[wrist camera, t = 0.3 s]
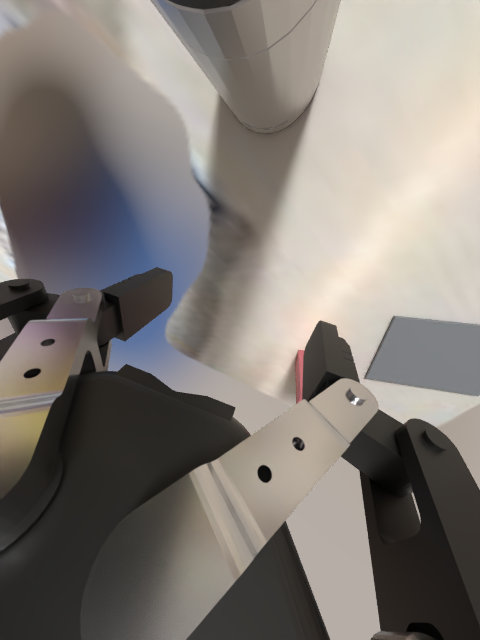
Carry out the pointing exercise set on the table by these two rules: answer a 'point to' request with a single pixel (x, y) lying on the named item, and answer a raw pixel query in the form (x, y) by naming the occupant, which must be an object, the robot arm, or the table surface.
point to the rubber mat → (429, 355)
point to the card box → (299, 375)
